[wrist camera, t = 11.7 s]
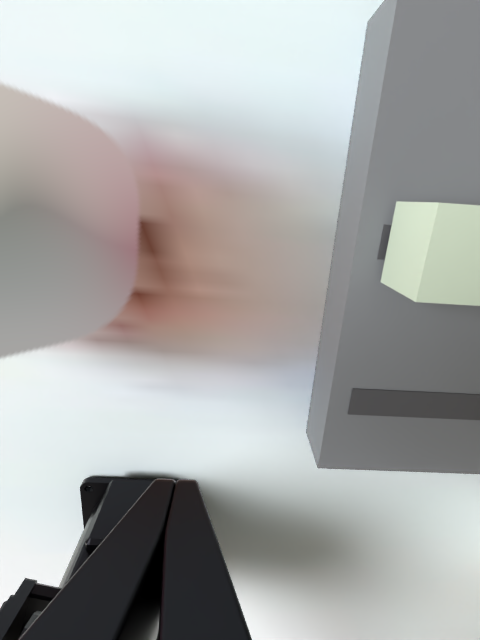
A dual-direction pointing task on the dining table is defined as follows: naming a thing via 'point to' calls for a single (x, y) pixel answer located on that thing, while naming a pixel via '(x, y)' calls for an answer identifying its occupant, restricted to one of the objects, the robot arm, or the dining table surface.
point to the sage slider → (434, 253)
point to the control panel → (371, 245)
